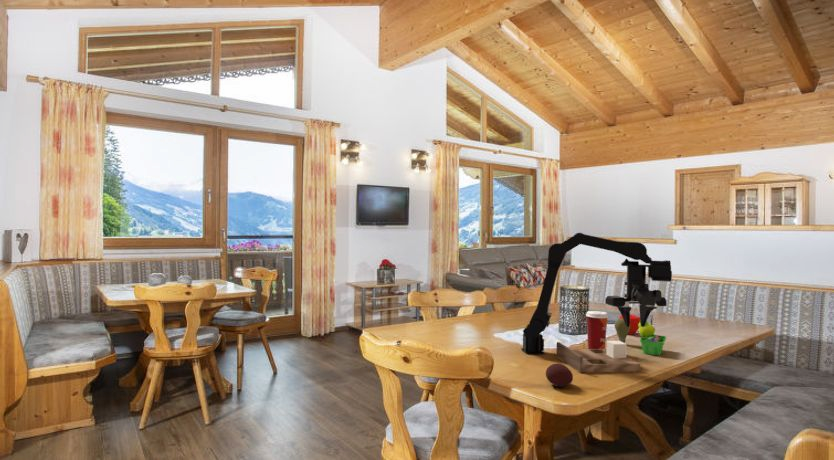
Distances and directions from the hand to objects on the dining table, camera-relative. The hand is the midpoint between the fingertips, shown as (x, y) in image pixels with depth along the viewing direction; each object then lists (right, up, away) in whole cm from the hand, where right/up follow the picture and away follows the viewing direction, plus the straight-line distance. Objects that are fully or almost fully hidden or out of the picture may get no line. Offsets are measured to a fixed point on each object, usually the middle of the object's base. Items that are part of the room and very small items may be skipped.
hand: (635, 326), depth 161 cm
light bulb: (+6, -12, +26) cm, 29 cm away
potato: (-32, -12, -23) cm, 41 cm away
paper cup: (-7, -12, +15) cm, 20 cm away
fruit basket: (+13, -12, +15) cm, 23 cm away
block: (-7, -10, -1) cm, 12 cm away
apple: (+17, -12, +44) cm, 49 cm away
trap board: (-13, -12, -1) cm, 18 cm away
